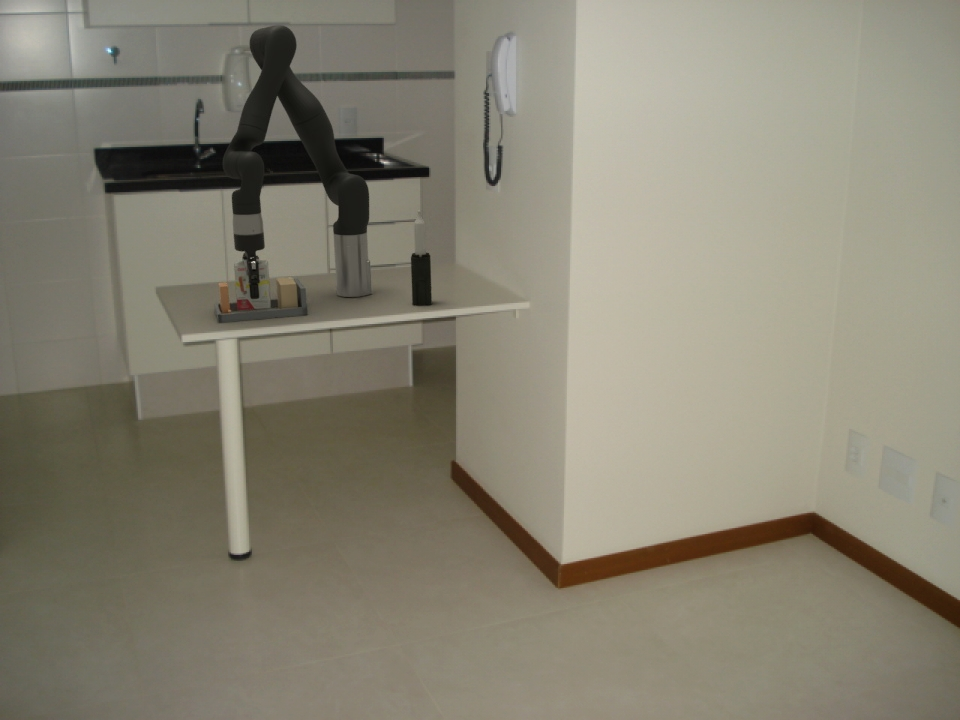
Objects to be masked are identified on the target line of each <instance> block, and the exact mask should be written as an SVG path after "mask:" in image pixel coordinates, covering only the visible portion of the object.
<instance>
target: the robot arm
mask: <svg viewBox="0 0 960 720" xmlns="http://www.w3.org/2000/svg"><path fill="white" fill-rule="evenodd" d="M297 46H298V45H297V38H296V35H295V34H294V32H293V31H292V29H290V28H289V27H288V26H285V25H281V24H278V25H277V24H276V25H270V26H266V27H262V28H258V29H256V30H254V31H253V32H252V33H251V34H250V36H249V50H250V52H251V56H252V57H253V59H254V62H256V64H257V66H258V67H259V69H260V70H261V72H260V74H259V76H258V79H257V81H256V83H255V85H254V86H253V88H252V90H251V92H250V93H249V94H248V96H247V99H246V101H245V103H244V105H243V107H242V111H241V114H240V117H239V122H238V126H237V130H236V131H235V134H234V136H233V137H232V139H231V140H230V143H229V144H228V146H227V148H226V150H225V152H224V155H223V158H222V169H223V172H224V173H225V175H226V176H227V177H228V178H230V179H233V180H241V184H240V188H238V189H236V190H234V191H232V193H231V206H232V207H231V208H232V232H233V233H232V234H233V244H234V250H235V251H237V252H241V253H242V256H241V259H242V260H241V261H243V263H244V265H245V269H246V276H248V280H249V282H248V284H249V287H250V298H251V299H258V298H259V286H258V284H259V282H260V280H259V274H260V270H259V262H260V261H259V260H260V257H259V255H257V251H262V250H264V249H265V246H266V245H265V244H266V243H265V232H264V221H263V216H262V205H261V203H262V202H261V193H262V190H263V189H262V188H263V183H264V177H265V164H264V161H263V158H262V156H261V155H260V154H259V153H258V152H255V151H253V149H254V148H255V147H258V146H260V145H262V144H263V143H264V142H265V139H266V136H267V132H268V128H269V125H270V121H271V117H272V114H273V109H274V106H275V103H276V102H277V101H276V100H277V99H278V100H279V102H280V104H281V106H282V107H283V109H284V111H285V113H286V115H287V116H288V119H289V121H290V123H291V125H292V126H293V128H294V130H295V132H296V135H297V136H298V138H299V139H300V141H301V143H302V145H303V146H304V149H305V150H306V151H305V152H306V153H307V154H308V156H309V157H310V159H311V162H312V163H313V165H314V167H315V169H316V171H317V174H318V176H319V178H320V180H321V183H322V186H323V188H324V191H325V194H326V196H327V197H328V199H329V200H330V202H332V204H334V205H335V206H337V207H338V210H337V211H338V212H337V213H338V216H337V220H335V221H334V223H332V230H333V248H334V267H335V268H334V269H335V284H336V286H335V287H336V295H337V296H338V297H344V298H358V297H364V296H369V295H372V293H373V292H372V291H373V290H372V275H371V274H372V273H371V271H372V270H371V260H370V259H369V248H368V247H369V246H368V243H369V242H368V225H369V222H370V192H369V185H368V184H367V182H366V180H365V179H364V178H363V177H362V176H360V175H358V174H353V173H349V171H348V170H347V168H346V167H345V165H344V163H343V161H342V160H341V158H340V156H339V154H338V151H337V146H336V141H335V133H334V129H333V126H332V123H331V121H330V118H329V116H328V115H327V112H326V110H325V109H324V107H323V105H322V104H321V101H320V100H319V99H318V98H317V96H316V95H314V94H313V92H312V91H311V90H310V89H308V87H306V85H304V83H302V82H301V81H300V80H299V78H298V77H297V76H296V75H295V73H294V71H293V69H292V68H291V64H292V63H293V60H294V58H295V55H296V51H297ZM243 252H244V253H243ZM247 265H248V268H247ZM248 269H249V272H248ZM252 275H256V279H251V276H252Z"/></svg>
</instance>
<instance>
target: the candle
mask: <svg viewBox="0 0 960 720" xmlns="http://www.w3.org/2000/svg"><path fill="white" fill-rule="evenodd" d="M416 215H417V217H416V219H415V221H414V222H413V233H414V237H413V238H414V252H412V253H411V256H410V269H411V270H410V272H411V273H410V274H411V298H412V299H411V300H412V306H415V305H416V306H431V305H432V304H433V303H432V301H433V300H432V299H433V297H432V269H431V268H432V267H431V266H432V265H431V254H430V253H429V252H427V242H426V240H427V239H426V237H427V235H426V222H425V221H424V219H423V217H422V211H421V210H420V209H418V210H417V214H416Z"/></svg>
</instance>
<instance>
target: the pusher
mask: <svg viewBox="0 0 960 720" xmlns="http://www.w3.org/2000/svg"><path fill="white" fill-rule="evenodd" d="M218 292H219V294H218V295H219V303H220V306H221V314H226V313H232V311H231V310H230V303H231V302H230V295H229V293H230V292H229V285H228V283H227V282H226V281H224V282H218Z"/></svg>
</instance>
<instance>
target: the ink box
mask: <svg viewBox="0 0 960 720" xmlns="http://www.w3.org/2000/svg"><path fill="white" fill-rule="evenodd" d="M259 261H260V262H259V270H260V274H259V280H260V282H259V284H258V286H259V298H258V299H251V298H250V287H249V284H248V282H249V280H248V276H246V269H245V265H244V263H243V261H242V260H239V261H237V260H236V262H234V265H233V267H234V268H233V270H234V281H235V282H234V283H235V285H234V286H235V295H236V296H235V297H236V302H237V309H238V310H237V311H243V310H244V311H246V310H247V311H250V310H268V309H271V308H272V307H271V299H272V298H271V286H270V269H269V261H268V260H260V259H259ZM247 268H248V265H247ZM248 272H249V269H248ZM251 279H256V275H252V276H251Z"/></svg>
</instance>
